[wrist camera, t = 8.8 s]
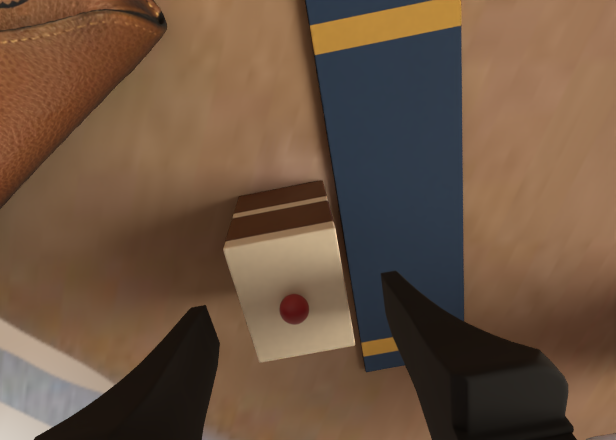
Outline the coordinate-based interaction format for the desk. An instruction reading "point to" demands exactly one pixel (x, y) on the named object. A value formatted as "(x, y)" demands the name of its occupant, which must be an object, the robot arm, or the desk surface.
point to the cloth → (394, 150)
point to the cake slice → (289, 272)
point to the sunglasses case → (62, 71)
